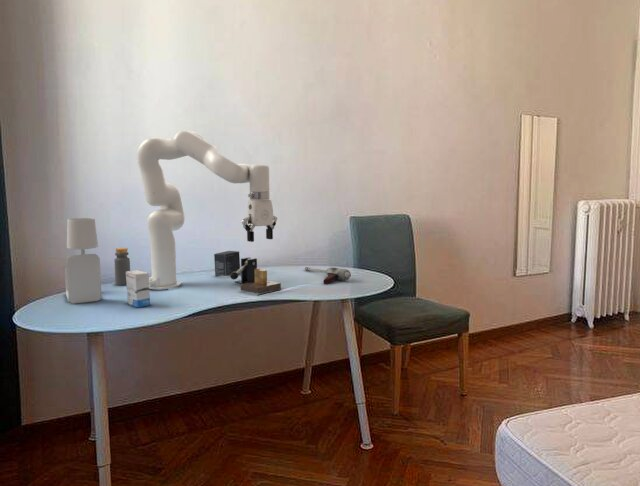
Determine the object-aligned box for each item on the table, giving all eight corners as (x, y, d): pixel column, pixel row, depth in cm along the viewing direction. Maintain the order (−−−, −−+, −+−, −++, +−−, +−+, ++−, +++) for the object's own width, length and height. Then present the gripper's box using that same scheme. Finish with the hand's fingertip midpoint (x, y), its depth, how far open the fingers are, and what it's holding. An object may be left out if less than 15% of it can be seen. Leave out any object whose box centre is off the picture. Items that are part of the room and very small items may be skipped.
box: (229, 272, 246) (228, 250, 245) (240, 273, 243) (240, 251, 242) (214, 276, 236) (213, 253, 235) (225, 277, 234) (225, 254, 232)
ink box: (150, 305, 185) (149, 272, 184) (136, 308, 181) (135, 274, 180) (140, 301, 191) (139, 269, 190) (126, 303, 187) (125, 271, 186)
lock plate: (257, 295, 200) (257, 287, 200) (240, 291, 207) (240, 284, 206) (280, 290, 210) (280, 282, 209) (263, 286, 216) (263, 279, 215)
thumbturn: (267, 284, 207) (266, 269, 206) (263, 284, 205) (263, 270, 205) (258, 282, 210) (258, 268, 209) (254, 283, 209) (254, 268, 208)
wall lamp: (96, 291, 207) (92, 214, 203) (103, 302, 189) (99, 219, 185) (65, 294, 201) (61, 215, 198) (70, 306, 183) (65, 220, 180)
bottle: (115, 283, 222) (114, 247, 220) (130, 282, 224) (129, 247, 222) (115, 285, 216) (113, 249, 215) (130, 284, 218) (128, 249, 217)
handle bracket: (247, 287, 215) (246, 260, 214) (234, 284, 220) (234, 258, 219) (263, 283, 222) (263, 258, 221) (251, 280, 227) (250, 256, 226)
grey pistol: (287, 280, 246) (311, 271, 254) (330, 288, 218) (355, 279, 226) (285, 270, 246) (309, 262, 253) (328, 277, 218) (353, 268, 225)
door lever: (235, 281, 214) (232, 275, 212) (230, 280, 216) (227, 274, 214) (255, 264, 221) (252, 258, 220) (250, 263, 223) (247, 257, 222)
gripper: (248, 197, 195) (249, 243, 197) (282, 196, 208) (283, 239, 210) (235, 196, 200) (236, 241, 201) (269, 195, 213) (270, 237, 215)
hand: (260, 240), depth 206 cm, fingers open, 9 cm apart
